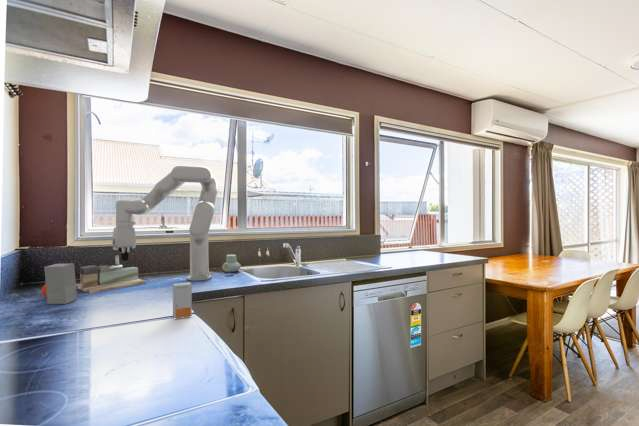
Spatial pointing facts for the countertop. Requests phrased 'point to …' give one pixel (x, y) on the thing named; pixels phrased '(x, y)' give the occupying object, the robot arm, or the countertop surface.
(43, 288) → the clementine
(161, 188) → the robot arm
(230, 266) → the air freshener
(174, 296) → the skincare box
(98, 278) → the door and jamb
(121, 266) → the bolt
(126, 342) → the countertop surface
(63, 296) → the skincare box
